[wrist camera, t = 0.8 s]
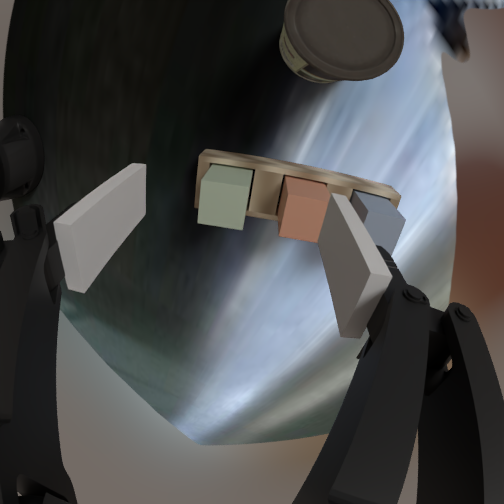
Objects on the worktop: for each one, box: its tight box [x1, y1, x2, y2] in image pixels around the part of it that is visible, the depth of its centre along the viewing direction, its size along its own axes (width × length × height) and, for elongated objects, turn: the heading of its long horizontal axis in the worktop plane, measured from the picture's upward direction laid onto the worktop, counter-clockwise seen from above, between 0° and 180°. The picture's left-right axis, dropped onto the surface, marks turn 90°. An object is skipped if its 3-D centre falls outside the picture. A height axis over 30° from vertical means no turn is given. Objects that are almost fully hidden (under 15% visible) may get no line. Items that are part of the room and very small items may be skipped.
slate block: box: [349, 189, 406, 255], centre depth 34 cm, size 5×5×7 cm
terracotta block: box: [278, 175, 330, 243], centre depth 34 cm, size 5×5×7 cm
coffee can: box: [279, 0, 404, 83], centre depth 23 cm, size 10×10×14 cm
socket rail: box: [194, 149, 401, 221], centre depth 38 cm, size 26×7×4 cm, turn 81°
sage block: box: [198, 163, 253, 230], centre depth 34 cm, size 5×5×7 cm
